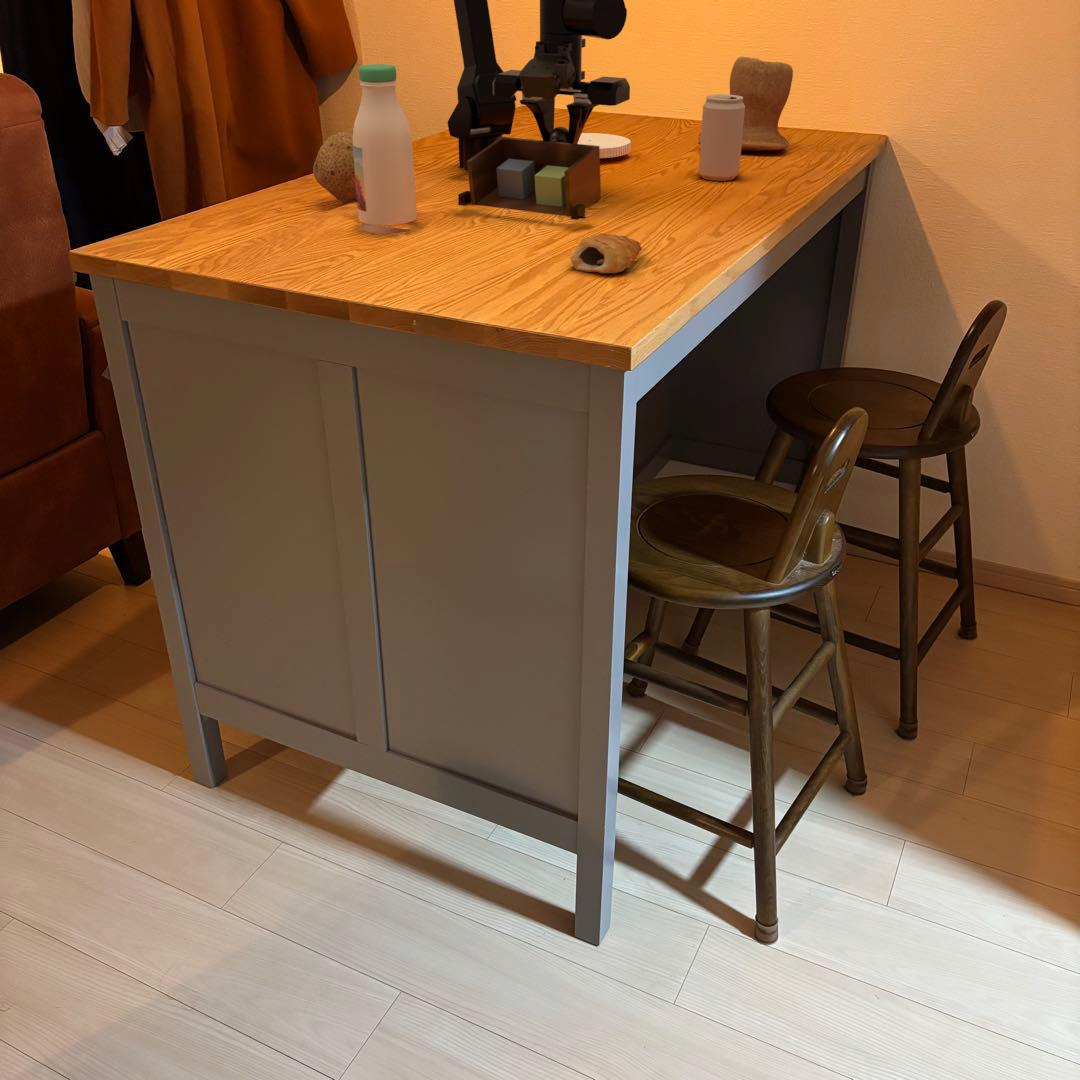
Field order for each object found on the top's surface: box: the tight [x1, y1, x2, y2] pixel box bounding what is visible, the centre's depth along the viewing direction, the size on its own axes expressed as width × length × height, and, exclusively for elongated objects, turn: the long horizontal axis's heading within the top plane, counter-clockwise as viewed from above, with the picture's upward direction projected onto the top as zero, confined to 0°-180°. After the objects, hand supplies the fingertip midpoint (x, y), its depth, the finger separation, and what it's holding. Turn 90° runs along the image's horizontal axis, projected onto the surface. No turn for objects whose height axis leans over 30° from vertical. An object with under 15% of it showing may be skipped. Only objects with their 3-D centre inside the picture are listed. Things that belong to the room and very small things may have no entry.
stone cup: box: [697, 56, 794, 152], centre depth 186 cm, size 15×12×15 cm
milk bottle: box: [352, 63, 418, 235], centre depth 138 cm, size 8×8×20 cm
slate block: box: [496, 159, 535, 199], centre depth 150 cm, size 4×4×4 cm
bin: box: [467, 126, 602, 218], centre depth 150 cm, size 15×15×8 cm
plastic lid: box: [577, 132, 632, 159], centre depth 183 cm, size 14×14×2 cm
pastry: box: [570, 233, 642, 274], centre depth 128 cm, size 9×7×4 cm
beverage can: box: [698, 93, 745, 182], centre depth 167 cm, size 6×6×12 cm
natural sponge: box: [312, 131, 357, 205], centre depth 151 cm, size 9×9×10 cm
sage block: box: [535, 165, 568, 207], centre depth 147 cm, size 4×4×4 cm
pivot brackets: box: [457, 190, 587, 221], centre depth 146 cm, size 19×2×3 cm, turn 64°
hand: (560, 152), depth 153 cm, fingers closed on bin, 3 cm apart
